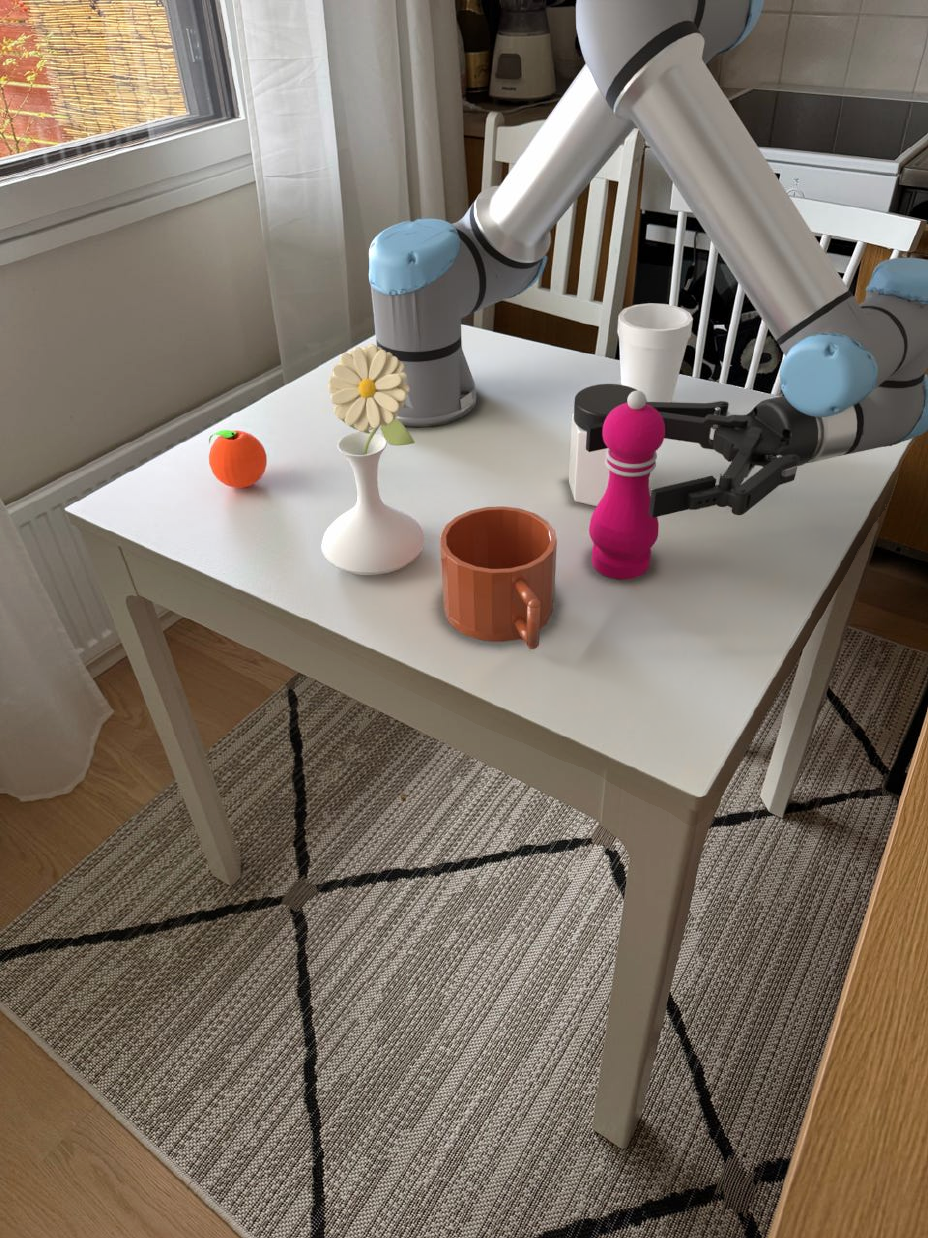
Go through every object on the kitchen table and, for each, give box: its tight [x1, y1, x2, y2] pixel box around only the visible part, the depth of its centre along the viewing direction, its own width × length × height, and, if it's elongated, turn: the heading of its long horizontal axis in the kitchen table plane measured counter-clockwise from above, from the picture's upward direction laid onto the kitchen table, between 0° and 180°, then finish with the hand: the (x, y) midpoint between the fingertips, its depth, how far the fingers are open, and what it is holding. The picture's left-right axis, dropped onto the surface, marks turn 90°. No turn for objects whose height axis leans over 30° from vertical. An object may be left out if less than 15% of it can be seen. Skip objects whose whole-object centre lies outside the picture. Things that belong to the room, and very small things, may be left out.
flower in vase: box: [321, 343, 426, 576], centre depth 92 cm, size 13×11×25 cm
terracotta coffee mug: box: [439, 505, 558, 650], centre depth 89 cm, size 15×11×8 cm
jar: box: [568, 383, 647, 507], centre depth 106 cm, size 9×8×12 cm
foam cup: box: [616, 302, 694, 402], centre depth 121 cm, size 10×9×13 cm
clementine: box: [208, 429, 268, 489], centre depth 111 cm, size 8×7×7 cm
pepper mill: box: [588, 391, 665, 580], centre depth 92 cm, size 7×7×20 cm
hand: (617, 469), depth 90 cm, fingers open, 13 cm apart
